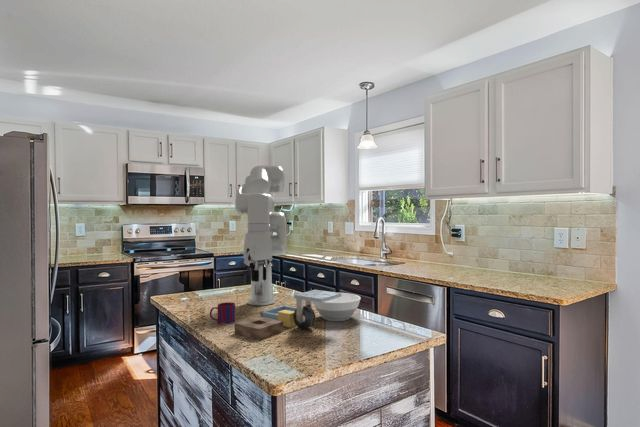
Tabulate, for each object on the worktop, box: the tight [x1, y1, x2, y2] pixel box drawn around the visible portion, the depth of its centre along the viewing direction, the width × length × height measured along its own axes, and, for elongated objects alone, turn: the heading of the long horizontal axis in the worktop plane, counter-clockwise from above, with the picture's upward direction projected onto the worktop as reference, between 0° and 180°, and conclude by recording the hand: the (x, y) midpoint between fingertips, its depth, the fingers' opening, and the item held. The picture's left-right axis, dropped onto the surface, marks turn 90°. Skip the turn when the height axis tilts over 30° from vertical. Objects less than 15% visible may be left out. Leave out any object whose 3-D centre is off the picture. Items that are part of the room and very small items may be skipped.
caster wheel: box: [293, 289, 342, 331], centre depth 146 cm, size 12×16×13 cm
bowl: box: [312, 292, 362, 322], centre depth 162 cm, size 19×20×8 cm
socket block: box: [234, 316, 284, 340], centre depth 143 cm, size 12×12×4 cm
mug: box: [209, 301, 236, 325], centre depth 157 cm, size 7×10×7 cm
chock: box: [278, 310, 296, 328], centre depth 153 cm, size 4×6×5 cm, turn 53°
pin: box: [255, 260, 264, 296], centre depth 144 cm, size 4×4×12 cm
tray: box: [260, 304, 296, 320], centre depth 165 cm, size 14×11×2 cm
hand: (258, 279), depth 144 cm, fingers closed on pin, 3 cm apart
